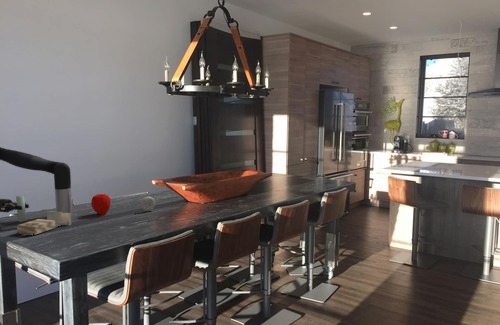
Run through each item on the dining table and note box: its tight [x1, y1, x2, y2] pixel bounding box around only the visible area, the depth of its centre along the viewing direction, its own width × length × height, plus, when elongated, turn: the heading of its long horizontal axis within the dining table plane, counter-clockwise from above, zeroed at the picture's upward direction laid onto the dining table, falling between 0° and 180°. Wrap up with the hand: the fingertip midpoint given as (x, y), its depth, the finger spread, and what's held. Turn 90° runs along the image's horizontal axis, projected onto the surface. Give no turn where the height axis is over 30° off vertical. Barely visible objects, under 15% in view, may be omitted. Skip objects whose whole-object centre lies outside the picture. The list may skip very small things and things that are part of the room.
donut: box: [140, 195, 156, 212], centre depth 265 cm, size 10×4×10 cm, turn 130°
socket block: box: [16, 218, 57, 236], centre depth 220 cm, size 14×12×4 cm
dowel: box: [15, 195, 27, 223], centre depth 227 cm, size 4×4×14 cm
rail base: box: [18, 210, 72, 236], centre depth 224 cm, size 25×16×7 cm, turn 162°
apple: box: [90, 193, 112, 216], centre depth 257 cm, size 12×12×13 cm
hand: (24, 207), depth 227 cm, fingers closed on dowel, 4 cm apart
